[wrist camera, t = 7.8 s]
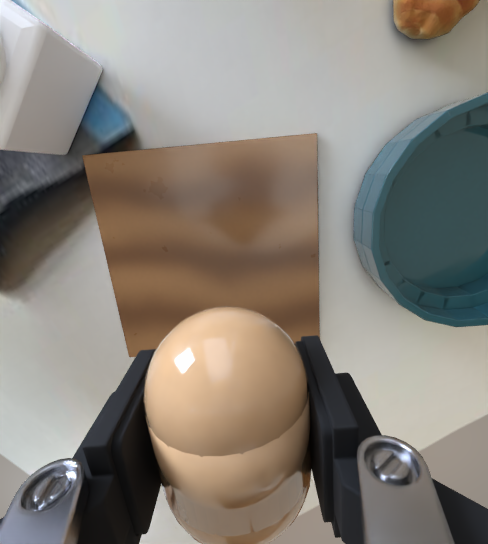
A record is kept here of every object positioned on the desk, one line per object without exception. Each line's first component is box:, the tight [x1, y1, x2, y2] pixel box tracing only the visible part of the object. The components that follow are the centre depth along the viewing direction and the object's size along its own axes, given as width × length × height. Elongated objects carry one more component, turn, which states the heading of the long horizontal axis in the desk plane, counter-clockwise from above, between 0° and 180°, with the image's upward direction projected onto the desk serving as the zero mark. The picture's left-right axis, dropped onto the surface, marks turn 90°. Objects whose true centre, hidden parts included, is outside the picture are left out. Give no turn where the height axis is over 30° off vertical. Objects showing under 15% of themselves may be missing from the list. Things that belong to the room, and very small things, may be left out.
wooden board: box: [82, 133, 320, 357], centre depth 27 cm, size 18×18×1 cm
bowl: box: [354, 92, 488, 327], centre depth 23 cm, size 16×16×4 cm
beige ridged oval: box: [144, 306, 312, 544], centre depth 9 cm, size 7×4×4 cm, turn 6°
